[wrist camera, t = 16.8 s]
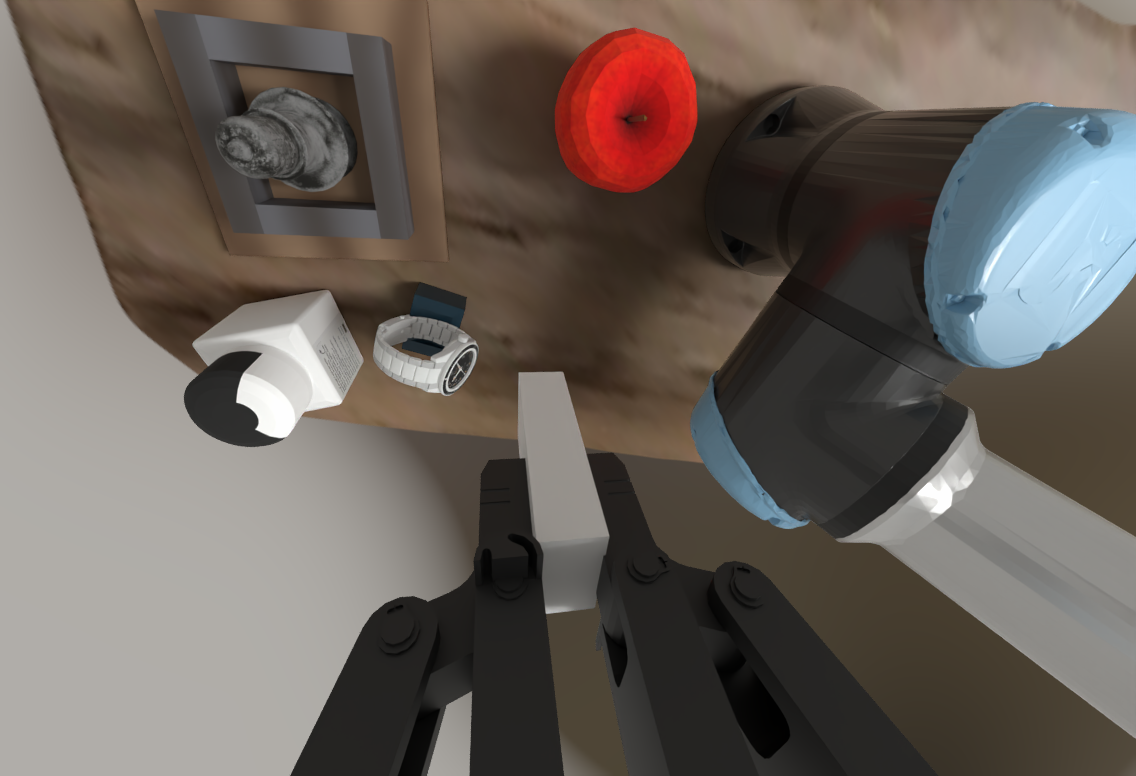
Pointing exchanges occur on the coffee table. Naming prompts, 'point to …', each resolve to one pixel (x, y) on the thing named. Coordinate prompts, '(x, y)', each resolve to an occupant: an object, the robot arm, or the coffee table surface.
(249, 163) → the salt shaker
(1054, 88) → the coffee table surface
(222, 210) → the holder
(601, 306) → the coffee table surface
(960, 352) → the robot arm
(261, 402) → the container
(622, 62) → the apple
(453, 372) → the watch
